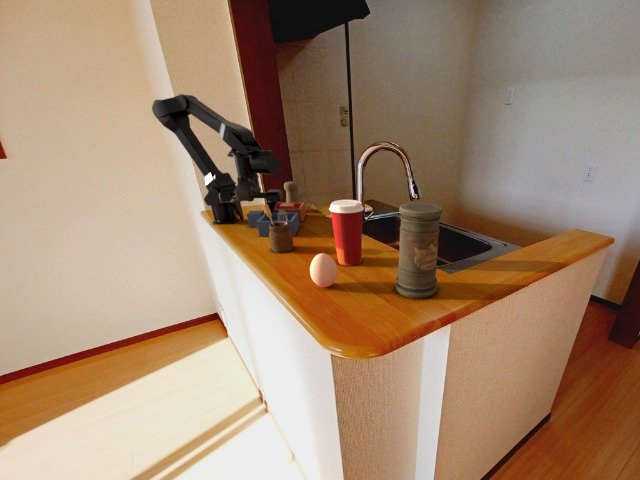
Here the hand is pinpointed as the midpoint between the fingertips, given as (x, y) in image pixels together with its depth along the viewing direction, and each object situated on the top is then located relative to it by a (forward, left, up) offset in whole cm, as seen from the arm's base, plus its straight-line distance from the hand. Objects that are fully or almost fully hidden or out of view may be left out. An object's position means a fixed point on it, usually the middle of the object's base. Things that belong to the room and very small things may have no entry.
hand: (257, 221), depth 108 cm
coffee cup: (+32, -34, -1) cm, 47 cm away
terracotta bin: (+9, +8, -1) cm, 12 cm away
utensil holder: (+13, -24, -1) cm, 27 cm away
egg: (+27, -48, -1) cm, 55 cm away
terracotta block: (+9, +8, -1) cm, 12 cm away
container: (+47, -51, -1) cm, 69 cm away
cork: (+9, +19, -1) cm, 21 cm away
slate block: (0, 0, -1) cm, 1 cm away
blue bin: (+9, -7, -1) cm, 11 cm away
